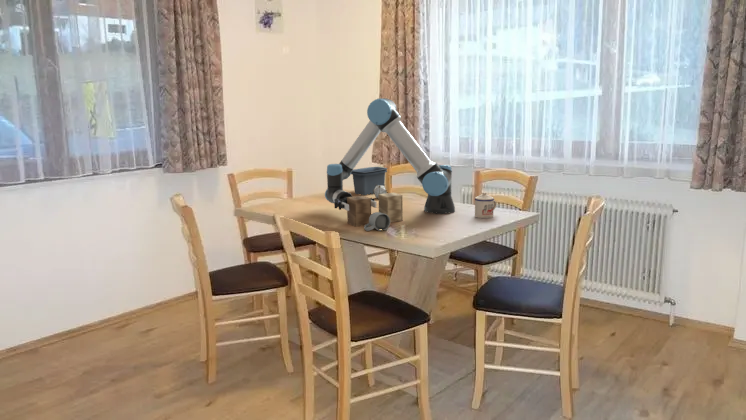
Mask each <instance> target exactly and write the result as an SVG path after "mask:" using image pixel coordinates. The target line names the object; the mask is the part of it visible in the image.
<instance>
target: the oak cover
mask: <svg viewBox="0 0 746 420" xmlns="http://www.w3.org/2000/svg"><path fill="white" fill-rule="evenodd" d="M378 212H380V213H384V214H387V215H388V216H389V218H390V223H395V222H402V221H403V217H404V216H403V213H404V212H403V194H399V193H396V192H388V193H386V194H379V198H378Z"/></svg>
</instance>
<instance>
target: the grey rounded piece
mask: <svg viewBox="0 0 746 420" xmlns="http://www.w3.org/2000/svg"><path fill="white" fill-rule="evenodd" d="M372 191H373V190H372ZM373 193H374V194H373V195H374V196H375V198H374V199H375V200H376V199H379V194H386V193H389V192H388V190H387V189H386V184H384V185H376V187H375V189H374V192H373Z"/></svg>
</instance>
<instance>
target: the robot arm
mask: <svg viewBox="0 0 746 420" xmlns="http://www.w3.org/2000/svg"><path fill="white" fill-rule="evenodd" d="M397 109H398V108H397V105H396V103H395V102H394V101H393V100H392V99H389V98H386V97H385V98H376V99H374V100H372V101H371V102H370V103H369V105H368V107H367V110H366V112H367V113H366V114H367V118H368V120H369V121H368V122H367V124H366V126H364V128H363V129H362V131H361V132H360V134H359V135H358V137H357V138H356V139H355V141H353V144H351V146H350V148H349V149H348V150H347V152H346V153H345V155H344V157H343V158H342V159H341V161H340V162H339V163H330V164H327V166H326V180H327V181H326V182H327V187H326V188H327V189H326V190H325V192H324V198H325V200H326V201H328V202H329V203H331V204H333V205H334V206H333V207H334V209H338V210H339V211H342V209H343V210H345V211H349V204H347V197H354V196H353V195H352V194H351V193H350V192H347V191H345V190H344V187H343V186H344V183H343V181H344V180H347V179H349V177H350V176H351V175H352V174H351V172H352V170H354V169H355V168H356V166H357V165H358V163H359V162H360V160H361V159H362V158H363V156H364V155H365V153H366V152H367V151H368V149H370V147H371V146H372V144H373V143H374V141H375V140H376V139H377V137H378V136H379V135H380V133H385V134H386V135H387V136H388V137H389V138H390V140H391V141H392V142H393V143H394V145H395V146H396V148H397V149H398V150H399V151H400V152H401V154H402V155H403V156H404V158H405V159H406V161H408V163H409V164H410V166H412V168H413V169H414V171H416V179H418V181H419V183H420V184H421V187H422V189H423V191H424V192H425V193H426V194H427V197H426V201H425V203H424V208H423V210H424V212H425V213H428V214H437V215H438V214H441V215H444V214H452V213H454V212H455V211H456V206H455V203H454V201H453V197H452V176H453V175H452V173H453V170H452V166H451V165H445V164H444V165H441V164H440V165H439V164H438V163H437V162H435V161H432V160H431V159H430V158H429V156H428V155H427V154H426V153H425V151H424V150H423V149H422V147H421V146H420V144H419V143H418V142H417V140H416V139H415V138H414V137H413V136H412V134H411V133H410V132H409V130H408V128H406V127H405V125H404V124H403V123H402V121H401V118H402V117H401V115H400V114H399V112H398V110H397ZM370 198H371V208H375V209H376V208H377V201H376V199H375V198H372V197H370Z"/></svg>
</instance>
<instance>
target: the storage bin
mask: <svg viewBox="0 0 746 420" xmlns="http://www.w3.org/2000/svg"><path fill="white" fill-rule="evenodd" d="M387 172H388V168H387V167H383V166H369V167H362V168H354V169H353V170H352V172H351V175H352V182H353V189H354V194H355V195H359V194H361V195H360V196H368V195H372V194H373V195H375V194H374V193H373V192H374V189H375V187H376V185H386V184H385V181H386V179H385V178H386V173H387ZM372 190H373V191H372ZM370 193H371V194H370ZM367 194H368V195H367Z"/></svg>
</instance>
